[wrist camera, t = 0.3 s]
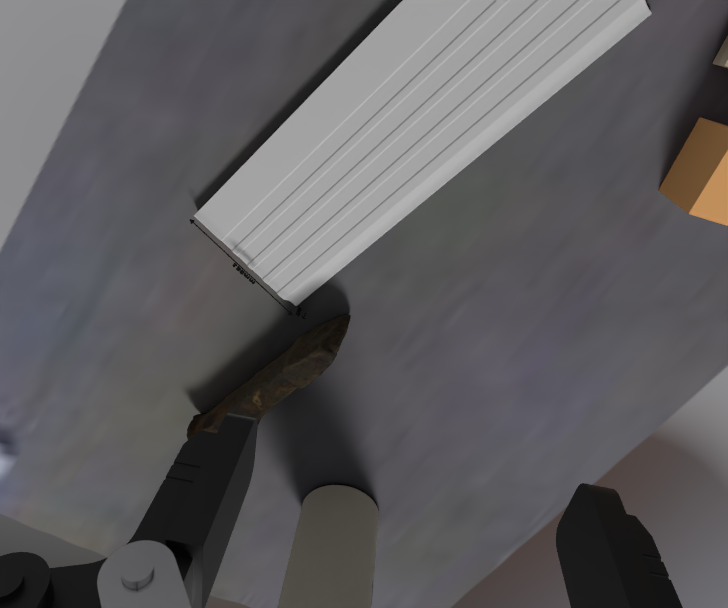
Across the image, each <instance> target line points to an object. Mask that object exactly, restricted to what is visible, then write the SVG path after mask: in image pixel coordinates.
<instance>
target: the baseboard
mask: <svg viewBox="0 0 728 608" xmlns="http://www.w3.org/2000/svg"><path fill="white" fill-rule="evenodd" d="M651 14H652V13H651V11H650V10H649V8H648V6H647V4H646V1H645V0H402V1H401V2H400V3H399V4H398V6H397V7H396V8H395V9H394V10H393V11H392V12H391V13H390V14H389V15H388V16H387V17H386V18H385V19H384V20H383V21H382V22H381V23H380V24H379V25H378V26H377V27H376V28H375V29H374V30H373V31H372V32H371V33H370V34H369V35H368V37H367V38H366V39H365V40H364V41H363V42H362V43H361V44H360V45H359V46H358V47H357V48H356V49H355V50H354V51H353V52H352V53H351V54H350V55H349V56H348V57H347V58H346V59H345V60H344V61H343V62H342V63H341V64H340V65H339V66H338V67H337V69H336V70H335V71H334V72H333V73H332V74H331V75H330V76H329V77H328V78H327V79H326V80H325V81H324V82H323V83H322V84H321V85H320V86H319V87H318V88H317V89H316V90H315V91H314V92H313V93H312V94H311V95H310V96H309V97H308V98H307V100H306V101H305V102H304V103H303V104H302V105H301V106H300V107H299V108H298V109H297V110H296V111H295V112H294V113H293V114H292V115H291V116H290V117H289V118H288V119H287V120H286V121H285V122H284V123H283V124H282V125H281V126H280V127H279V128H278V129H277V130H276V132H275V133H274V134H273V135H272V136H271V137H270V138H269V139H268V140H267V141H266V142H265V143H264V144H263V145H262V146H261V147H260V148H259V149H258V150H257V151H256V152H255V153H254V154H253V155H252V156H251V157H250V158H249V159H248V160H247V161H246V163H245V164H244V165H243V166H242V167H241V168H240V169H239V170H238V171H237V172H236V173H235V174H234V175H233V176H232V177H231V178H230V179H229V180H228V181H227V182H226V183H225V184H224V185H223V186H222V187H221V188H220V189H219V190H218V191H217V192H216V193H215V195H214V196H213V197H212V198H211V199H210V200H209V201H208V202H207V203H206V204H205V205H204V206H203V207H202V208H201V209H200V210H199V211H198V212H197V213H196V214H195V215H194V216H195V217H196V218H197V219H198V220H199V221H200V222H201V223H202V224H203V225H204V226H206V227H207V228H208V229H209V230H210V231H211V232H212V233H213V234H214V235H215V236H216V237H217V238H218V239H219V240H220V241H222V242H223V243H225V244H226V245H227V246H228V247H229V248H230V249H231V250H232V252H233V253H234V254H235V255H237V256H238V257H239V258H241V259H242V260H243V261H244V262H245V263H246V264H247V266H248V267H249V268H250V269H251V270H253V271H254V272H255V273H256V274H258V275H259V276H260V277H261V278H262V280H263V281H264V282H265V283H266V284H268V285H269V286H270V287H271V288H272V289H274V290H275V291H276V292H277V294H278V295H279V296H280V297H281V298H282V299H284V300H288V301H290V302H292V303H293V304H294V305H295V306H297V305H298V304H299V303H301V302H302V301H303V300H304V299H306V298H307V297H308V296H309V295H310V294H312V293H313V292H314V291H315V290H316V289H318V288H319V287H320V286H321V285H323V284H324V283H325V282H326V281H327V280H329V279H330V278H331V277H332V276H333V275H335V274H336V273H337V272H338V271H340V270H341V269H342V268H343V267H344V266H346V265H347V264H348V263H349V262H350V261H352V260H353V259H354V258H355V257H357V256H358V255H359V254H360V253H361V252H363V251H364V250H365V249H366V248H368V247H369V246H370V245H371V244H372V243H374V242H375V241H376V240H377V239H378V238H380V237H381V236H382V235H383V234H385V233H386V232H387V231H388V230H389V229H391V228H392V227H393V226H394V225H395V224H397V223H398V222H399V221H400V220H402V219H403V218H404V217H405V216H406V215H408V214H409V213H410V212H411V211H412V210H414V209H415V208H416V207H417V206H419V205H420V204H421V203H422V202H423V201H425V200H426V199H427V198H428V197H429V196H431V195H432V194H433V193H434V192H436V191H437V190H438V189H439V188H440V187H442V186H443V185H444V184H445V183H446V182H448V181H449V180H450V179H451V178H453V177H454V176H455V175H456V174H457V173H459V172H460V171H461V170H462V169H464V168H465V167H466V166H467V165H468V164H470V163H471V162H472V161H473V160H474V159H476V158H477V157H478V156H479V155H481V154H482V153H483V152H484V151H485V150H487V149H488V148H489V147H490V146H491V145H493V144H494V143H495V142H496V141H498V140H499V139H500V138H501V137H502V136H504V135H505V134H506V133H507V132H508V131H510V130H511V129H512V128H513V127H515V126H516V125H517V124H518V123H519V122H521V121H522V120H523V119H524V118H525V117H527V116H528V115H529V114H530V113H532V112H533V111H534V110H535V109H536V108H538V107H539V106H540V105H541V104H543V103H544V102H545V101H546V100H547V99H549V98H550V97H551V96H552V95H553V94H555V93H556V92H557V91H558V90H560V89H561V88H562V87H563V86H564V85H566V84H567V83H568V82H569V81H570V80H572V79H573V78H574V77H575V76H577V75H578V74H579V73H580V72H581V71H583V70H584V69H585V68H586V67H587V66H589V65H590V64H591V63H592V62H594V61H595V60H596V59H597V58H598V57H600V56H601V55H602V54H603V53H604V52H606V51H607V50H608V49H609V48H611V47H612V46H613V45H614V44H615V43H617V42H618V41H619V40H620V39H622V38H623V37H624V36H625V35H626V34H628V33H629V32H630V31H631V30H632V29H634V28H635V27H636V26H637V25H639V24H640V23H641V22H642V21H643V20H645V19H646V18H647V17H648V16H649V15H651ZM190 222H191V224H192V223H194V220H191V219H190ZM194 224H195V223H194ZM195 225H196V224H195ZM196 226H197V225H196ZM197 227H198V226H197ZM198 228H199V227H198ZM199 229H200V228H199ZM200 230H201V229H200ZM201 231H202V230H201ZM202 232H203V233H204V234H206V233H205V232H204V231H202ZM206 235H207V234H206ZM207 236H208V235H207ZM208 237H209V236H208ZM209 238H210V237H209ZM210 239H211V238H210ZM211 240H212V239H211ZM212 241H213V240H212ZM213 242H214V241H213ZM214 243H215V242H214ZM215 244H216V243H215ZM216 245H217V244H216ZM217 246H218V247H219V248H221V247H220V246H219V245H217ZM221 249H222V248H221ZM222 250H223V249H222ZM223 251H224V250H223ZM224 252H225V251H224ZM225 253H226V252H225ZM226 254H227V253H226ZM227 255H228V254H227ZM228 256H229V255H228ZM229 257H230V256H229ZM230 258H231V257H230ZM231 259H232V258H231ZM232 260H233V261H234V262H236V261H235V260H234V259H232ZM236 263H237V262H236ZM236 263H234V264H233V267H235V266H237V264H238V263H237V264H236ZM238 265H239V264H238ZM239 266H240V265H239ZM239 266H238V267H237V268H236V270H237V271H240V270H241V268H242V267H241V266H240V267H241V268H240V267H239ZM242 269H243V268H242ZM243 270H244V269H243ZM243 270H241V271H240V273H241V274H244V276H245V277H246V278H247V279H249V278H250V276H251V275H250V274H249V273H247V272H246V271H245V270H244V271H245V272H246V273H247V274H248V275H249V277H247V276H248V275H246V273H244V271H243ZM251 277H252V276H251ZM252 278H253V277H252ZM252 278H250V279H249V281H250V282H252V284H254V283H255V281H256V280H255V279H254V278H253V279H254V280H255V281H254V282H253V279H252ZM251 279H252V280H251ZM256 282H257V281H256ZM257 283H258V282H257ZM258 284H259V283H258ZM259 285H260V284H259ZM260 286H261V285H260ZM261 287H262V286H261ZM262 288H263V289H264V290H266V289H265V288H264V287H262ZM266 291H267V290H266ZM267 292H268V291H267ZM268 293H269V292H268ZM269 294H270V293H269ZM270 295H271V294H270ZM271 296H272V295H271ZM272 297H273V296H272ZM273 298H274V297H273ZM274 299H275V298H274ZM275 300H276V299H275ZM276 301H277V300H276ZM277 302H278V303H279V304H281V303H280V302H279V301H277ZM281 305H282V304H281ZM282 306H283V305H282ZM283 307H284V306H283ZM298 307H299V306H298ZM284 308H285V307H284ZM285 309H286V308H285ZM286 310H287V309H286ZM287 311H288V310H287ZM288 312H289V311H288ZM300 313H301V308H300V307H299V308H298V310H297V312H296V315H297V316H299V315H300ZM305 314H306V313H305ZM305 314H304V316H305ZM289 315H292V312H291V310H290V312H289ZM302 318H303V319H305V318H304V317H303V316H302Z"/></svg>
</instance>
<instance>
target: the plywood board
mask: <svg viewBox="0 0 728 608" xmlns="http://www.w3.org/2000/svg"><path fill="white" fill-rule="evenodd" d="M712 64H715V65H718V66H722V67H725V68H728V36H727V37H726V39H725V41H724V43H723V45H722V46H721V48H720V50H719V52H718V54H717V56H716V57H715V59H714V61H713V63H712Z"/></svg>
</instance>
